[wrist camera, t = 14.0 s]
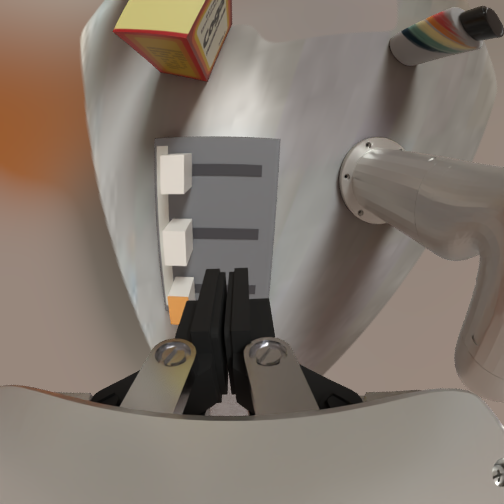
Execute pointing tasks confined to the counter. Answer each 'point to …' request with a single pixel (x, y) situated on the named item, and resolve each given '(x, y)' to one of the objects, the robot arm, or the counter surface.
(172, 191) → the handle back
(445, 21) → the lotion bottle
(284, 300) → the counter surface
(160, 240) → the panel
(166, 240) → the handle mid
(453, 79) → the counter surface
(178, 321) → the handle
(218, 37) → the baking soda box
